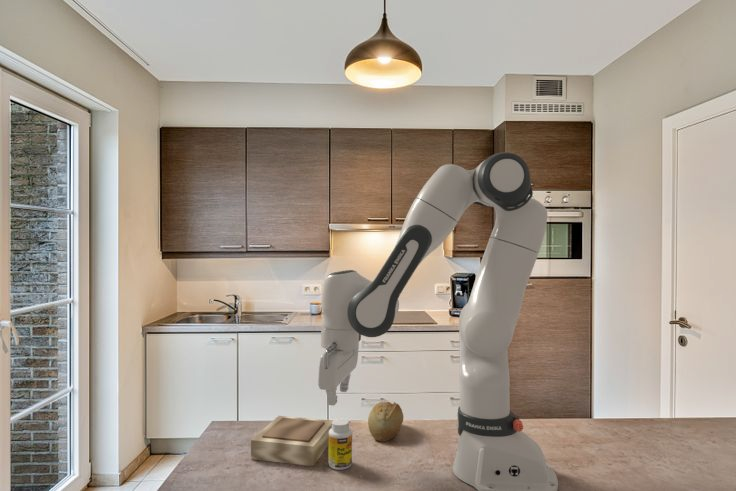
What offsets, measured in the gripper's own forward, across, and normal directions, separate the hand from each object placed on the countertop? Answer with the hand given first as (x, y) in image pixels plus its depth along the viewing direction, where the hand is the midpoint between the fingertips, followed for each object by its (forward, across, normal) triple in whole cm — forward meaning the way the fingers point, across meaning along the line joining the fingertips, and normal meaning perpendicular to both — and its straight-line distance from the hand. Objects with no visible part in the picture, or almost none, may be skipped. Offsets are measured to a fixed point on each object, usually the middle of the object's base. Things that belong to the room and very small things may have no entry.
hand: (338, 397), depth 106 cm
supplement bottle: (+16, 0, -1) cm, 16 cm away
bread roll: (+16, +21, -8) cm, 28 cm away
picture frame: (+16, +6, +13) cm, 22 cm away
